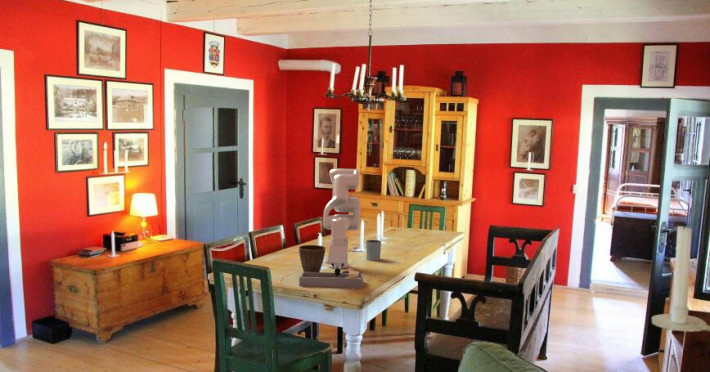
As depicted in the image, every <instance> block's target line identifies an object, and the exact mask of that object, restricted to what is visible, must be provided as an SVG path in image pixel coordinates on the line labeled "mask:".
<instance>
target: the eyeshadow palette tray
mask: <svg viewBox="0 0 710 372" xmlns="http://www.w3.org/2000/svg"><path fill="white" fill-rule="evenodd" d="M348 274H349V273H342V272H340V274H339V276H338V275H337V276H336V274H335V272H327V271H326V272H325V271H324V272H323V271H320V272H304V271H302V272H301V273H300V276H299V279H298V281H299V282H298V286H300V287H322V288H323V287H326V288H331V287H332V288H351V289H352V288H355V289H360V288H361V289H362V288H363V285H364V273H362V274H358V279H351V278H348Z"/></svg>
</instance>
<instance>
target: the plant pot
mask: <svg viewBox="0 0 710 372" xmlns="http://www.w3.org/2000/svg"><path fill="white" fill-rule="evenodd" d="M298 251H299V252H298V253H299V259H300V263H301V267H302V270H303V271H302V272H321V269H322V266H323V263H324V258H325V255H326V254H325V253H326V247H325V246H323V245H319V244H318V245H316V244H307V245H305V244H304V245H300V246H298Z"/></svg>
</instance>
